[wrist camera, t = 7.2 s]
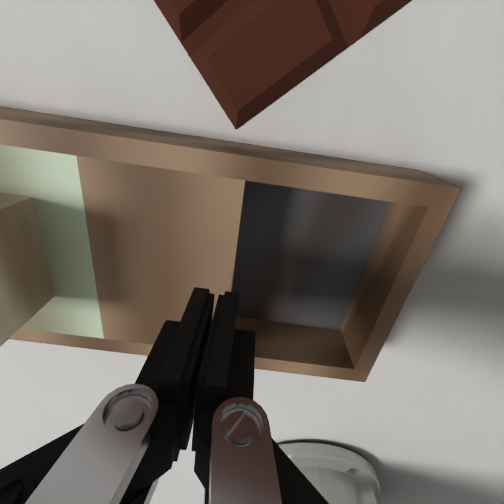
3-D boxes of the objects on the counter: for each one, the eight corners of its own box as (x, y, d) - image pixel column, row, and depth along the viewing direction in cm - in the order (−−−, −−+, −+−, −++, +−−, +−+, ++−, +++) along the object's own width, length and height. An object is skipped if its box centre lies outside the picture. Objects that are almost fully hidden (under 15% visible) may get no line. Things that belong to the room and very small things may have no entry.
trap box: (417, 170, 12) (461, 188, 9) (348, 338, 17) (364, 381, 14) (-214, 74, 11) (-363, 64, 8) (-101, 281, 16) (-174, 317, 13)
